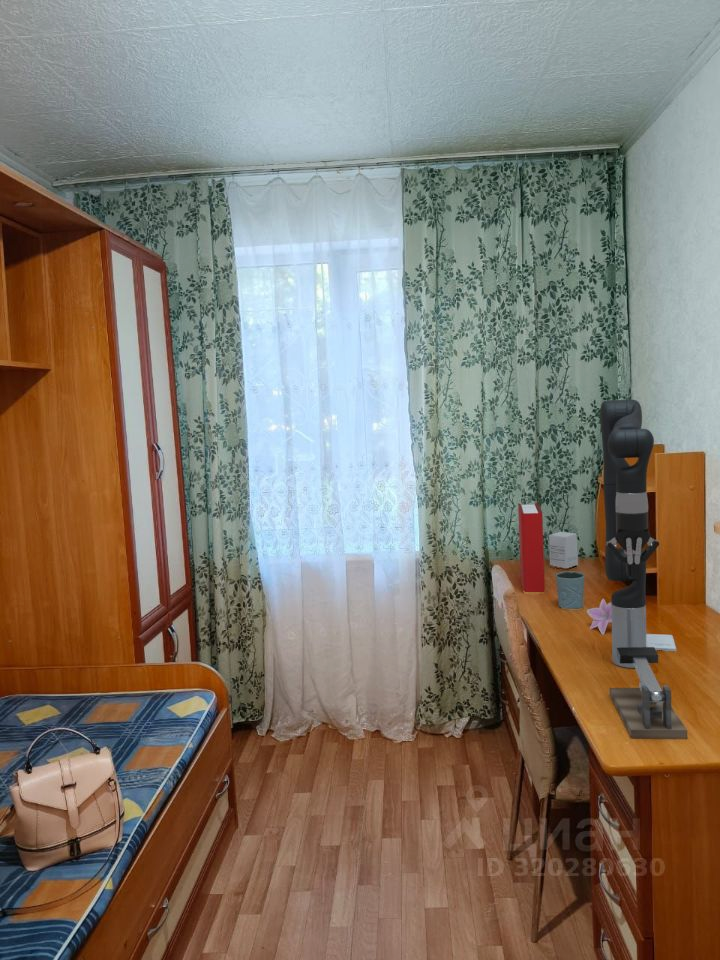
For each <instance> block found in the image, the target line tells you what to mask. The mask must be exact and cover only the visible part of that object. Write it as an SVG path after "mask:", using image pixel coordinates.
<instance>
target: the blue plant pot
mask: <svg viewBox="0 0 720 960" xmlns="http://www.w3.org/2000/svg"><path fill="white" fill-rule="evenodd" d="M585 575H586V574H585V573H583V572H580V571H574V570H573V571H572V570H571V571H569V570H565V571H560V572H557V573H556V574H555V581H556V586H557V588H556V589H557V591H556V592H557V600H558V601H557V604H558V607H559V606H560V607H562V608H566V609H579V610H581V609H580V608H582V607H583V608H584V596H585V595H584V592H585V589H584V588H585V577H586V576H585ZM583 608H582V609H583Z"/></svg>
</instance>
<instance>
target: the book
mask: <svg viewBox="0 0 720 960" xmlns="http://www.w3.org/2000/svg"><path fill="white" fill-rule="evenodd" d="M517 504H518V505H517V508H518V509H517V510H518V511H517V513H518V536H519V538H518V539H519V564H520V565H519V567H520V569H519V570H520V581H521V580H522V582H521V586H522V585H523V587H522V591H523V590H524V591H525V592H544V591H545V590H546V588H545V561H544V560H545V558H544V526H543V525H544V522H543V511H542V509H541V507H540V505H539V503H538V502H536V503H534V504H520V503H519V502H518V503H517ZM545 592H546V591H545Z"/></svg>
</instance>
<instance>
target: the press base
mask: <svg viewBox="0 0 720 960" xmlns="http://www.w3.org/2000/svg"><path fill="white" fill-rule="evenodd" d="M662 691H663V692H664V696H665V701H664V702H650V690H649V689H648V687H647V686H646V685H642V692H641V690H640V688H639V687H609V697H610V699H611V700H612V703H613V705H614V706H615V708H616V710H617V713H618V714H619V717H620V718H621V720H622V723H623V724H624V727H625V728H626V731H627V732H629V733H628V734H630V735H629V736H631V737H630V738H631V739H665V740H666V739H671V740H672V739H675V740H676V739H683V740H684V739H685V740H686V739H688V729H687V728H686V726H685V725H684V723H683V721H682V720H681V719H680V717H679V716H678V714H677V713H676V711H675V709H673V707H672V690H671V688H670V687H669V686H668V685H667V684H665V685H664V684H663V685H662Z"/></svg>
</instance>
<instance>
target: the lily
mask: <svg viewBox="0 0 720 960" xmlns="http://www.w3.org/2000/svg"><path fill="white" fill-rule="evenodd" d="M586 613H587V614H588V615H589V616H590V618H591V619H593V620H592V622H591V625H590V626H589V629H590V630H592V629H594V628H598V629H599V631H600V633H601V635H602V636H603V635H605V632H606V630H607V626H608V624H609V623H610V624H611V625H612V613H611V602H608V603H607V602H606V600H605V598H602V599H601V601H600V604H599V607H592V608H589V609H587V610H586Z"/></svg>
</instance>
